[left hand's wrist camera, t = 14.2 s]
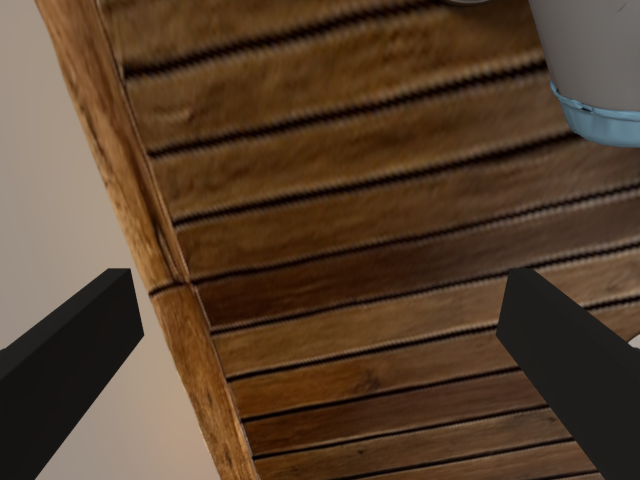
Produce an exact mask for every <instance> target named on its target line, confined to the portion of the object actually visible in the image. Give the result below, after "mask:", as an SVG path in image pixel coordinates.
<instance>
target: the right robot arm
mask: <svg viewBox="0 0 640 480" xmlns="http://www.w3.org/2000/svg"><path fill="white" fill-rule="evenodd" d="M628 344H630V345H631V346H632V347H637V348H639V349H640V334H639V335H638V336H636V337H635V338H633V339H632V340H631V341H629V342H628Z"/></svg>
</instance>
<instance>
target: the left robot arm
mask: <svg viewBox="0 0 640 480" xmlns="http://www.w3.org/2000/svg"><path fill="white" fill-rule="evenodd" d="M438 1H441V2H443V3H446V4H449V5H454V6H476V5H480V4H484V3H487V2H490V1H492V0H438ZM528 1H529V4H530V8H531V11H532V15H533V18H534V21H535V25H536V28H537V32H538V35H539V39H540V42H541V45H542V49H543V52H544V56H545V59H546V63H547V66H548V69H549V73H550V76H551V81H550V86H551V90H552V92H553V94H554V95H555V96H556V97H557V98H558V99H559V102H560V105H561V107H562V110H563V113H564V116H565V119H566V121H567V124H568V125H569V127H570V128H571V129H572V131H574V132H575V133H577V134H579V135H581V136H582V137H583V138H585V139H586V140H588V141H591V142H594V143H598V144H602V145H608V146H616V147H640V0H528ZM143 336H144V331H143V327H142V322H141V317H140V312H139V307H138V303H137V298H136V293H135V288H134V284H133V279H132V274H131V269H130V268H108V269H107V270H106V271H104V272H103V273H102V274H100V275H99V276H98V277H97V278H95V279H94V280H93V281H91V282H90V283H89V284H88V285H86V286H85V287H84V288H82V289H81V290H80V291H79V292H77V293H76V294H75V295H73V296H72V297H71V298H70V299H68V300H67V301H66V302H64V303H63V304H62V305H61V306H59V307H58V308H57V309H55V310H54V311H53V312H51V313H50V314H49V315H48V316H46V317H45V318H44V319H43V320H41V321H40V322H39V323H37V324H36V325H35V326H33V327H32V328H31V329H30V330H28V331H27V332H26V333H24V334H23V335H22V336H21V337H19V338H18V339H17V340H15V341H14V342H13V343H12V344H10V345H9V346H8V347H6V348H5V349H2V350H0V480H35V479H36V477H37V476H38V475H39V473H40V472H41V471H42V469H43V468H44V467H45V465H46V464H47V463H48V462H49V460H50V459H51V458H52V456H53V455H54V454H55V452H56V451H57V450H58V448H59V447H60V446H61V444H62V443H63V442H64V440H65V439H66V438H67V436H68V435H69V434H70V433H71V431H72V430H73V429H74V427H75V426H76V425H77V423H78V422H79V421H80V419H81V418H82V417H83V415H84V414H85V413H86V411H87V410H88V409H89V407H90V406H91V405H92V403H93V402H94V401H95V400H96V398H97V397H98V396H99V394H100V393H101V392H102V390H103V389H104V388H105V386H106V385H107V384H108V382H109V381H110V380H111V378H112V377H113V376H114V375H115V373H116V372H117V371H118V369H119V368H120V367H121V365H122V364H123V363H124V361H125V360H126V359H127V357H128V356H129V355H130V354H131V352H132V351H133V350H134V348H135V347H136V346H137V344H138V343H139V342H140V340H141V339H142V338H143ZM496 336H497V338H498V339H499V340H500V342H501V343H502V344H503V346H504V347H505V348H506V350H507V351H508V352H509V354H510V355H511V356H512V357H513V359H514V360H515V361H516V363H517V364H518V365H519V367H520V368H521V369H522V371H523V372H524V373H525V375H526V376H527V377H528V379H529V380H530V381H531V382H532V384H533V385H534V386H535V388H536V389H537V390H538V392H539V393H540V394H541V396H542V397H543V398H544V400H545V401H546V402H547V404H548V405H549V406H550V408H551V409H552V410H553V411H554V413H555V414H556V415H557V417H558V418H559V419H560V421H561V422H562V423H563V425H564V426H565V427H566V429H567V430H568V431H569V433H570V434H571V435H572V436H573V438H574V439H575V440H576V442H577V443H578V444H579V446H580V447H581V448H582V450H583V451H584V452H585V454H586V455H587V456H588V458H589V459H590V460H591V462H592V463H593V464H594V465H595V467H596V468H597V469H598V471H599V472H600V473H601V475H602V476H603V477H604V479H605V480H640V349H639V348H637V347H632V346H631V345H630V344H628V343H627V342H626V341H625V340H623V339H622V338H621V337H619V336H618V335H617V334H616V333H614V332H613V331H612V330H610V329H609V328H608V327H607V326H605V325H604V324H603V323H601V322H600V321H599V320H598V319H596V318H595V317H594V316H592V315H591V314H590V313H589V312H587V311H586V310H585V309H583V308H582V307H581V306H579V305H578V304H577V303H576V302H574V301H573V300H572V299H570V298H569V297H568V296H567V295H565V294H564V293H563V292H561V291H560V290H559V289H558V288H556V287H555V286H554V285H552V284H551V283H550V282H549V281H547V280H546V279H545V278H543V277H542V276H541V275H540V274H538V273H537V272H536V271H534V270H533V269H532V268H510V269H509V274H508V279H507V284H506V288H505V293H504V298H503V303H502V307H501V312H500V317H499V322H498V327H497V331H496Z"/></svg>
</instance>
